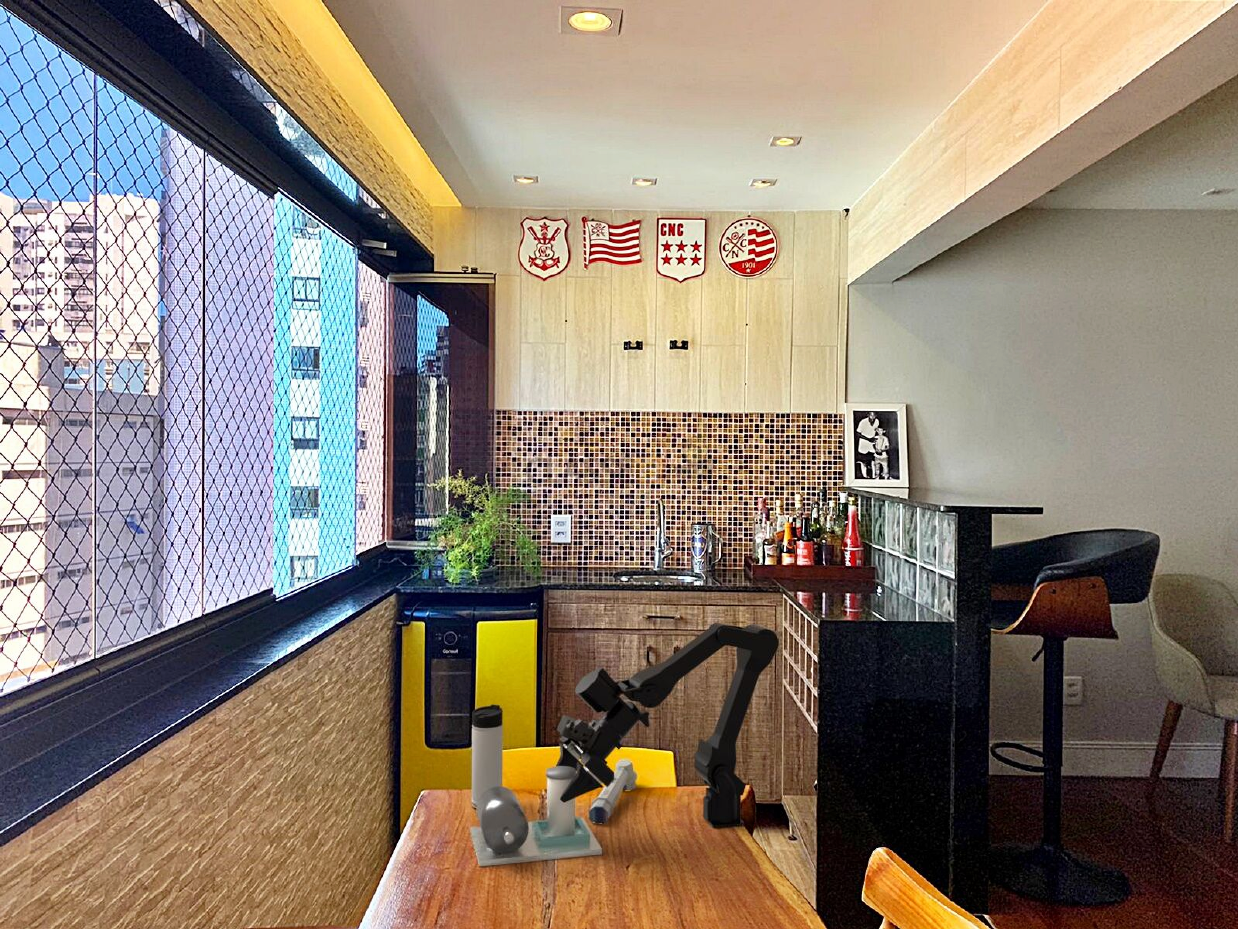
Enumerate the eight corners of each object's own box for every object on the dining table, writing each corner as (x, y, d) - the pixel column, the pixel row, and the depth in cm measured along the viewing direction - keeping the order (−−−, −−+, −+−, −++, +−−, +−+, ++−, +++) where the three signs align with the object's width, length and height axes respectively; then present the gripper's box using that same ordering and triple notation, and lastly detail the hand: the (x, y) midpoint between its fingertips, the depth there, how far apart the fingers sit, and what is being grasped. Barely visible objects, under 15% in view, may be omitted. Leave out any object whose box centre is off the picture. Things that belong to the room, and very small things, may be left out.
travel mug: (508, 802, 197) (509, 706, 197) (491, 813, 191) (492, 713, 191) (483, 798, 200) (483, 703, 200) (465, 808, 194) (466, 710, 194)
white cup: (580, 831, 179) (580, 767, 179) (569, 842, 174) (570, 776, 174) (552, 828, 181) (552, 765, 181) (541, 839, 175) (541, 773, 175)
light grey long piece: (584, 804, 186) (615, 751, 210) (585, 837, 187) (616, 779, 211) (610, 807, 184) (638, 752, 208) (611, 839, 185) (639, 781, 209)
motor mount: (582, 822, 186) (583, 776, 186) (604, 858, 169) (604, 808, 169) (469, 832, 181) (470, 785, 181) (480, 871, 163) (480, 819, 163)
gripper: (570, 689, 187) (514, 750, 184) (597, 712, 170) (537, 780, 166) (608, 726, 190) (554, 787, 186) (639, 753, 172) (580, 820, 169)
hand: (555, 792), depth 177 cm, fingers open, 9 cm apart
